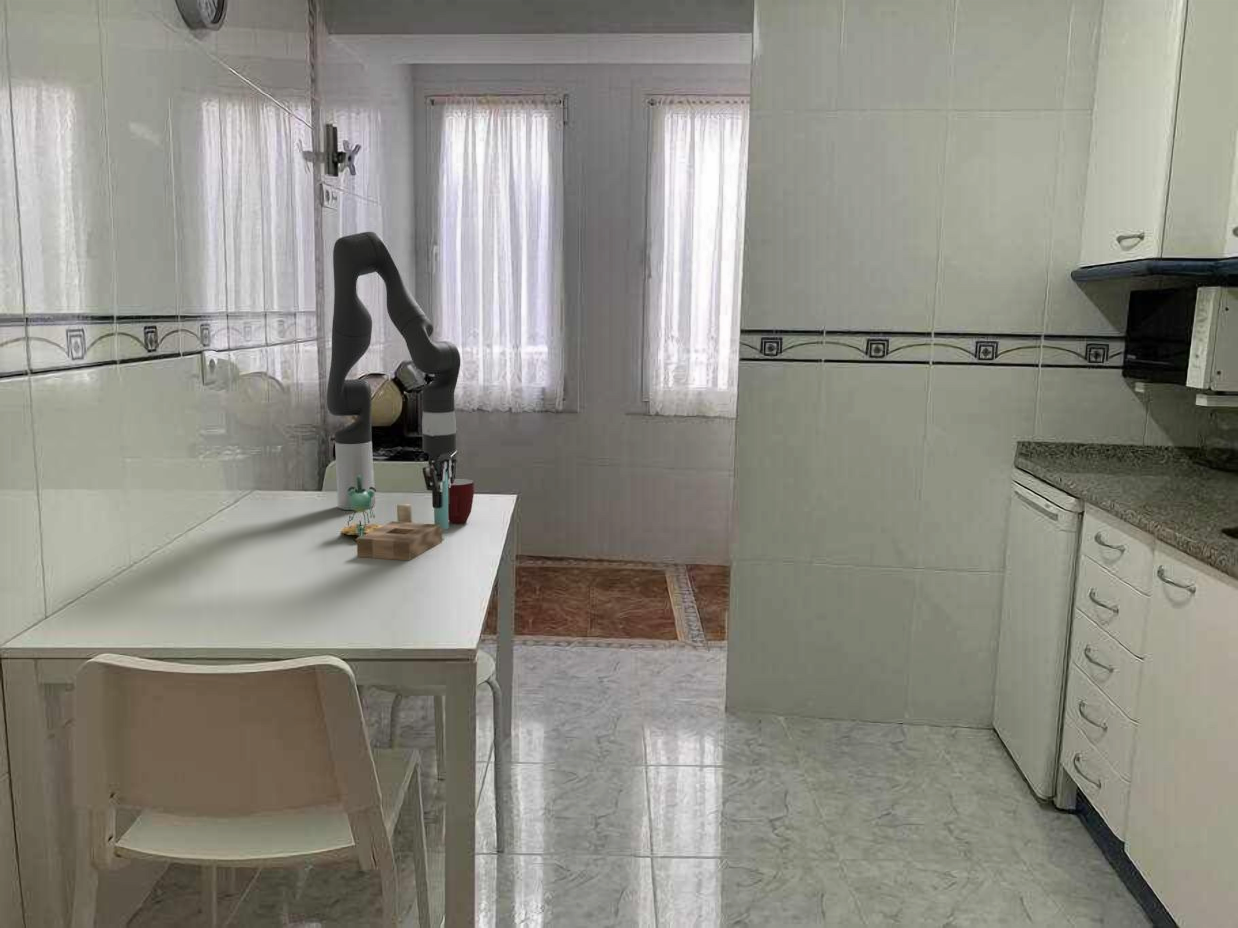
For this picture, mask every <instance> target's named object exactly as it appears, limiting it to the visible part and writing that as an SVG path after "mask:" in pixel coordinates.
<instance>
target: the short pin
mask: <svg viewBox="0 0 1238 928" xmlns="http://www.w3.org/2000/svg"><path fill="white" fill-rule="evenodd" d="M396 509H397V511H396V512H397V514H396V515H397V517H396V518H397V522H408V523H413V513H412V504H411V503H400V504H397V505H396Z"/></svg>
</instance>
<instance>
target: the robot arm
mask: <svg viewBox="0 0 1238 928" xmlns="http://www.w3.org/2000/svg"><path fill="white" fill-rule="evenodd" d="M332 251H333V253H332V264H333V265H332V266H333V268H332V269H333V284H334V286H333V287H334V288H333V289H334V291H333V292H334V295H333V299H334V300H333V315H332V326H331V360H330V367H329V368H330V369H329V376H328V382H327V391H326V405H327V410H328V413H330V414H331V415H332V416H339V417H344V416H345V417H346V416H347V417H348V416H357V417H356V419H355V420H354V421H353V422H352V423H350V424H349V425H347V426H345V427H341V428H339V429H337V430H336V431H335V433H334V445H335V446H334V447H335V450H334V451H335V467H336V469H335V470H336V471H335V472H336V489H337V490H336V491H337V492H336V493H337V508H338V509H340V510H343V511H344V510H345V511H346V510H347V511H355V510H354V509H353V508H352V507H351V505H349V503H350V498H351V497H350V496H349V492H350V491H351V490H354V491H355V489H357V490H358V486H357V476H360V477H361V484H362V489H363V488H365V491H366V492H367V493H368V492H369V491H373V492H374V495H373V497H372V498H371V501H372V502H371V506H370V508H369V509H371V507H372V508H373V507H374V506H375V504H376V492H375V491H374V490H373V489H370V487H373V488H375V489H376V487H375V469H374V463H373V462H374V459H373V442H372V441H373V438H372V436H373V435H372V430H373V429H372V400H373V399H372V388H371V384H370V383H369V381H368V380H367V379H364V378H363V379H362V378H361V379H359V378H357V379H353V378H352V379H346V377H347V375H348V374H349V373H350V370H351V369H352V368H353V367H354V366H355V365H356V364H357V362H358V361H360V359H361V358H363V356H364V355H365V354H366V353H367V351H368V349H370V348H369V347H370V345H371V341H372V332H373V319H372V315H371V314H370V312H369V310H368V308H367V307H366V306H365V304H364V303H363V301H362V300H361V298H360V297H359V296H358V292H357V282H358V278H359V277H360V276H365V275H368V274H373V273H376V274H378V275H379V276H380V278H381V279H382V281H383V282H384V284H385V290H386V291H385V292H386V311H387V313H388V317H389V319H390V320H391V323H392V324H393V325H394V327H395V328H396V329H397V331H398V332H399V333H400V335H401V336H402V338H403V339H404V341H405V344H406V346H407V347H406V348H407V350H408V352H409V354H410V358H411V360H412V362H413V365H414V366H415V368H417V369H418V370H419V371H420V372H421V373H423V374H426V375H433V379H432V382H431V383H429V384H428V385H425V386H424V387H423V389H422V395H421V396H422V397H421V398H422V417H421V431H422V432H421V437H422V451H423V453H425V454H428V455H429V456H428V462H427V467H422V474H423V478H424V479H423V480H424V483H425V488H426V491H430V492H431V497H432V500H431V501H432V507H433V509H434V508H442V507H443V495H442V486H443V482H444V481H445V472H448V504H449V502H450V501H449V488H450V487H451V484H453V483H454V479H455V475H456V471H457V470H456V468H457V458H453V457H452V455H451V454H453V453H455V452H456V451H457V450H458V449H457V420H456V413H455V410H456V407H455V390H456V387H457V384H458V379H459V378H458V377H459V374H460V370H461V355H460V354H461V353H460V352H459V349H458V347H457V346H456V345H455V344H454V343H453V342H451V341H448V340H445V341H432V340H431V338H430V337H431V336H432V334H433V332H434V326H433V324H432V321H431V320H430V319H429V317H428V316H427V315H426V313H425V312H424V311H423V309H422V308H421V306H420V305H419V304H418V303H417V301H416V299H415V298H414V296H413V295H412V293H411V291H410V290H409V288H408V286H407V284H406V282H405V280H404V278H403V276H402V274H401V272H400V269H399V268H398V265H397V264H396V261H395V260H394V257H393V256H392V253H391V251H390V250H389V248H388V246H387V245H386V243H385V241H384V240H383V238H381V236H380V235H379V234H377V233H376V232H374V231H365V232H364V231H362V232H359V233H354V234H350V235H344V236H341V237H339V238H338V239H336V241H335V242H334V245H333V250H332ZM437 476H439V477H440V478H437ZM438 482H439V485H438ZM350 487H354V489H351V490H350V491H349V492H348V489H349V488H350ZM348 505H349V506H350V509H348V508H347V507H349V506H348Z"/></svg>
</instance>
